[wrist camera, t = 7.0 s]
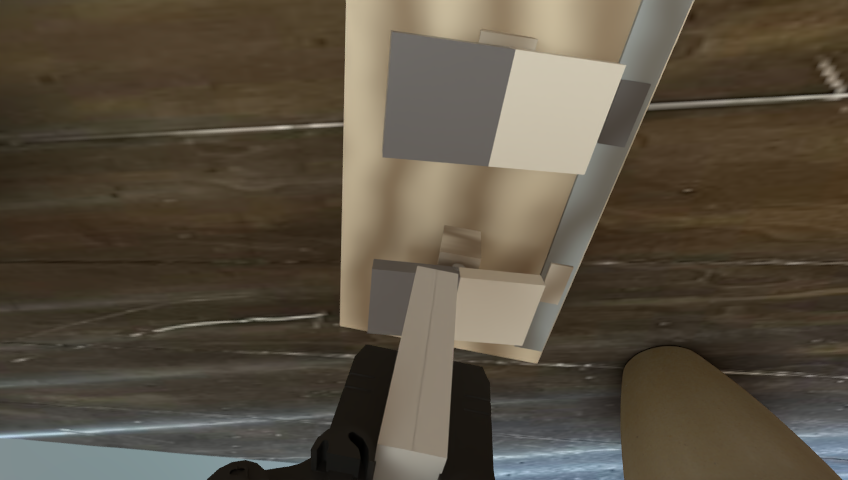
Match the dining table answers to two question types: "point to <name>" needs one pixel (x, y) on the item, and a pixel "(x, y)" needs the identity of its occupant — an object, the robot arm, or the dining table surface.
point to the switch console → (481, 185)
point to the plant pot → (703, 426)
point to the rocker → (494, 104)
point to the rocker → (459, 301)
